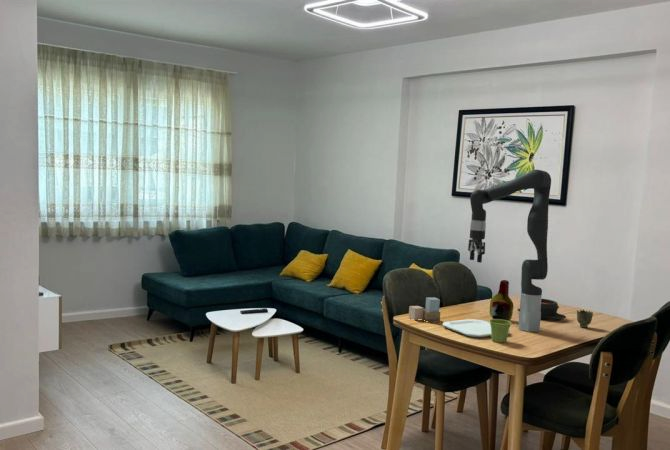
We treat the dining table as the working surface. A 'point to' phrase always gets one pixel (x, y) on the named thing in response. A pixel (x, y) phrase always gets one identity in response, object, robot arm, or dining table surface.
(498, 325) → the plant pot
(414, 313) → the pale pinkish block
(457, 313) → the dining table surface
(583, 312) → the cup
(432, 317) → the walnut block
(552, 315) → the casserole
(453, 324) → the plate
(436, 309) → the grey cube
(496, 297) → the bottle
